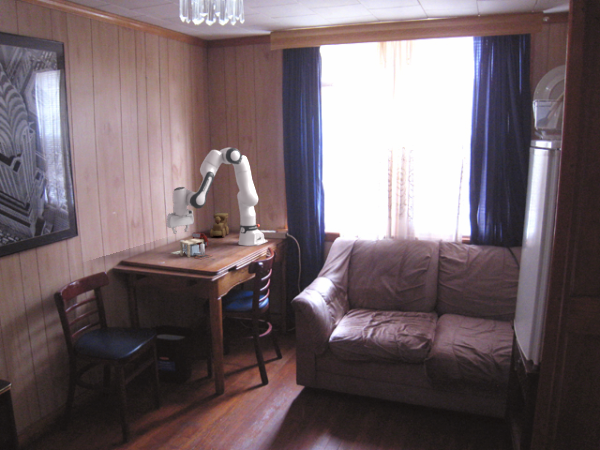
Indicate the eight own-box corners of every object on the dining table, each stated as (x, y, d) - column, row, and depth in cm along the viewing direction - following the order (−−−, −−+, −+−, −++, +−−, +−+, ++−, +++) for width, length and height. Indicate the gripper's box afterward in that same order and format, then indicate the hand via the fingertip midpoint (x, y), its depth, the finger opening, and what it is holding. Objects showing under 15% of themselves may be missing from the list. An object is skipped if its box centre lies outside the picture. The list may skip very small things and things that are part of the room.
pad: (182, 250, 342) (182, 250, 342) (188, 251, 338) (188, 251, 338) (170, 253, 334) (170, 252, 334) (176, 254, 330) (176, 254, 330)
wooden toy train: (216, 233, 402) (215, 212, 399) (230, 233, 400) (229, 213, 397) (209, 238, 382) (208, 216, 379) (223, 238, 381) (223, 217, 378)
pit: (205, 255, 328) (205, 254, 328) (212, 256, 325) (212, 255, 325) (194, 258, 320) (194, 257, 320) (200, 259, 317) (200, 258, 317)
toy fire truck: (205, 249, 346) (204, 234, 344) (190, 247, 350) (189, 233, 349) (210, 247, 352) (210, 232, 350) (195, 245, 357) (195, 231, 355)
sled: (184, 250, 338) (183, 239, 336) (207, 255, 324) (207, 243, 323) (177, 252, 333) (176, 240, 331) (200, 257, 320) (200, 245, 318)
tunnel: (195, 252, 336) (195, 238, 334) (203, 253, 332) (203, 239, 330) (180, 255, 326) (179, 241, 324) (188, 257, 321) (188, 243, 320)
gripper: (170, 214, 320) (171, 235, 322) (195, 210, 336) (195, 231, 338) (164, 213, 323) (164, 234, 326) (188, 209, 339) (189, 229, 342)
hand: (180, 232), depth 332 cm, fingers open, 8 cm apart
